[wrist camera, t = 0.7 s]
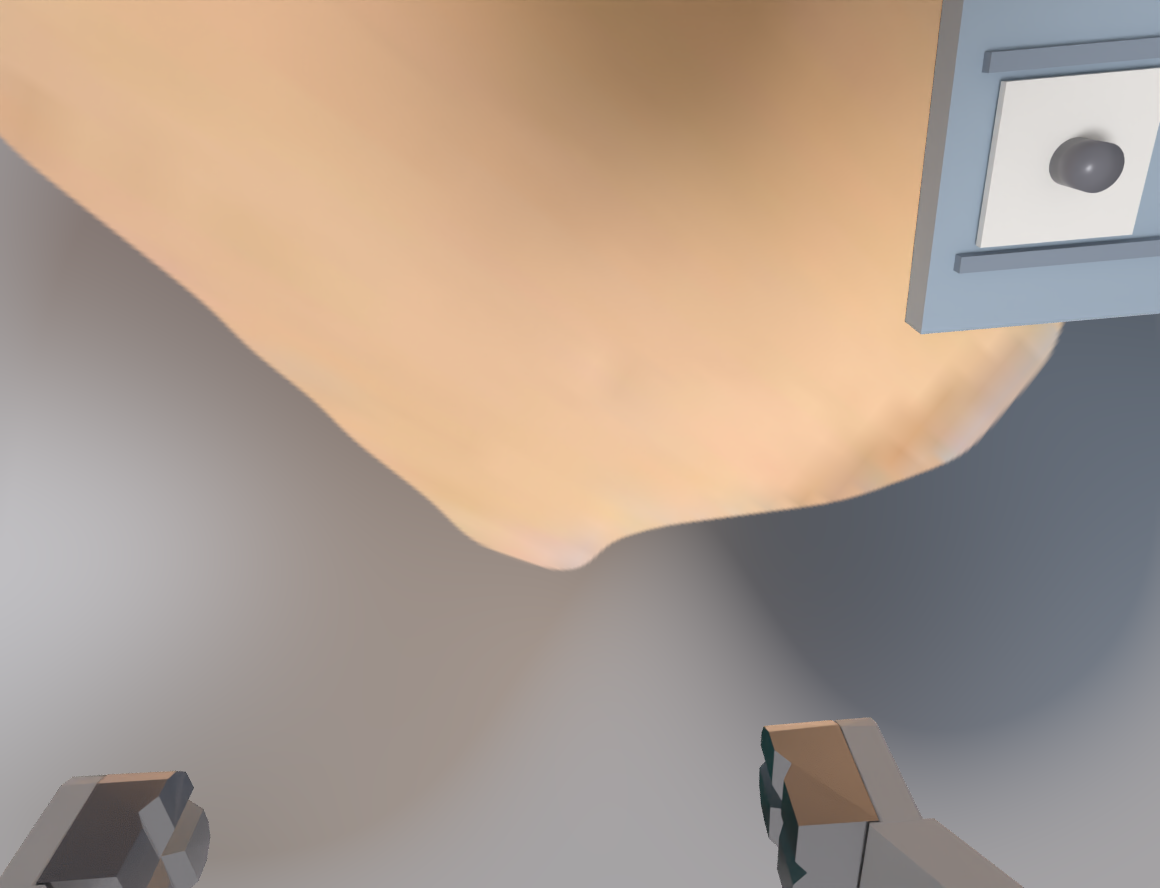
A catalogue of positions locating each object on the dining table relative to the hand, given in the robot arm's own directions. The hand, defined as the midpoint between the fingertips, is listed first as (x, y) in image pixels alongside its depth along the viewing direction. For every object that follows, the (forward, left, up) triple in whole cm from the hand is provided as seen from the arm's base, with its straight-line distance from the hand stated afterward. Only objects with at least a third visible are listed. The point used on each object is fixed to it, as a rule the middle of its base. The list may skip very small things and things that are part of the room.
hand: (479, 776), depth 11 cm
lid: (-1, +31, -39) cm, 49 cm away
